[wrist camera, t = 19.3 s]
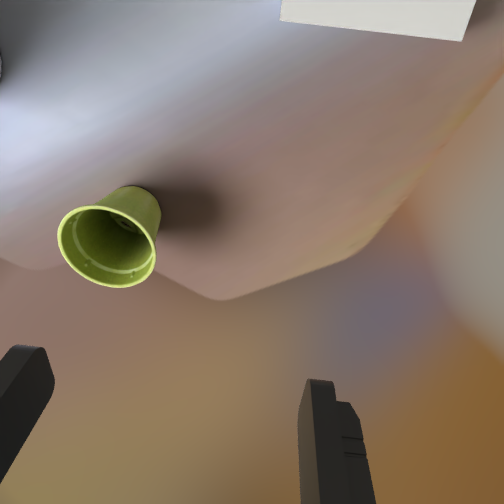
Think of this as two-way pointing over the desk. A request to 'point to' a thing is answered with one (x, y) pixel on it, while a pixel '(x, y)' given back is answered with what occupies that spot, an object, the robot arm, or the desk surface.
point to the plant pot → (113, 238)
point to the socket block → (385, 16)
